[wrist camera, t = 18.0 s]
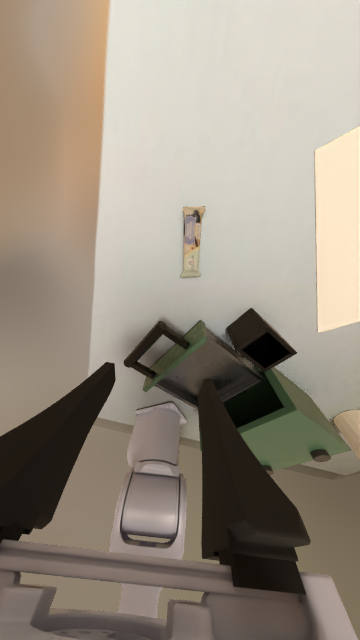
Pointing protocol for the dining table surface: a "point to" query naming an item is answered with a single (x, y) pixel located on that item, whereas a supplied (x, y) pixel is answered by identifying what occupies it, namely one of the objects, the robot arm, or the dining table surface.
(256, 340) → the black tin
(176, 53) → the dining table surface
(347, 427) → the white cup
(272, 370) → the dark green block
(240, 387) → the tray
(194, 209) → the granola bar
